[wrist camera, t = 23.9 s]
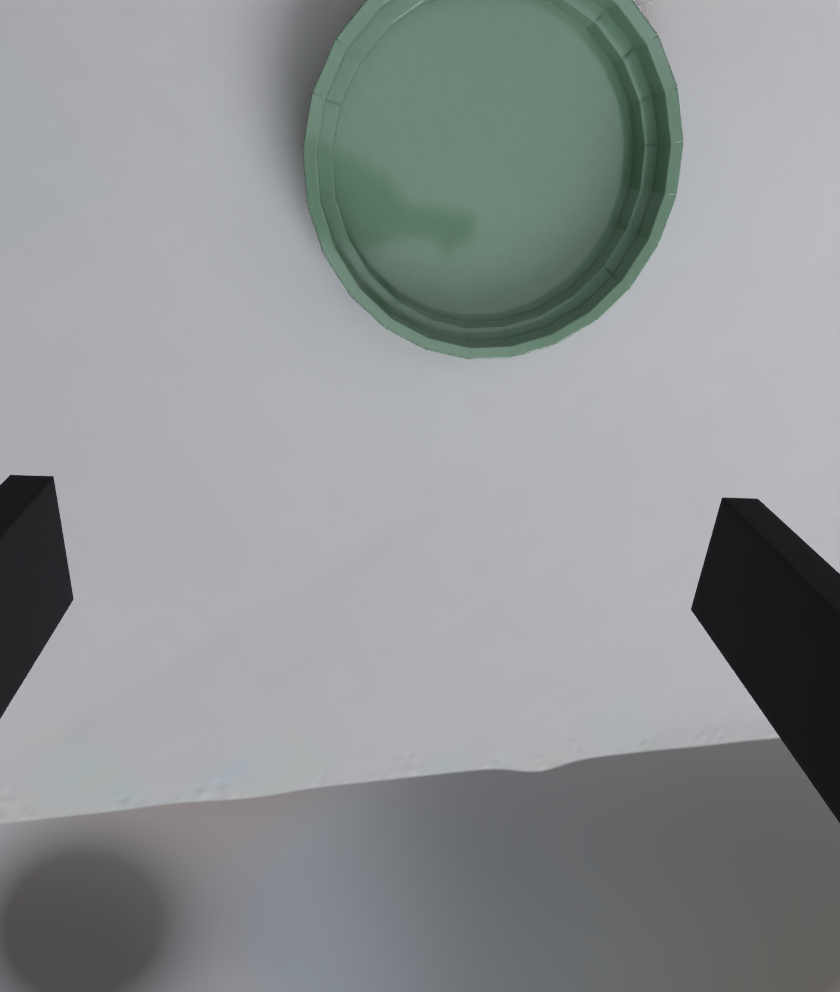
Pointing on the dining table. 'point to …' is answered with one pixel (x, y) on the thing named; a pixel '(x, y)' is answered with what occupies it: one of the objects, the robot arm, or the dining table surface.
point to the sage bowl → (492, 166)
